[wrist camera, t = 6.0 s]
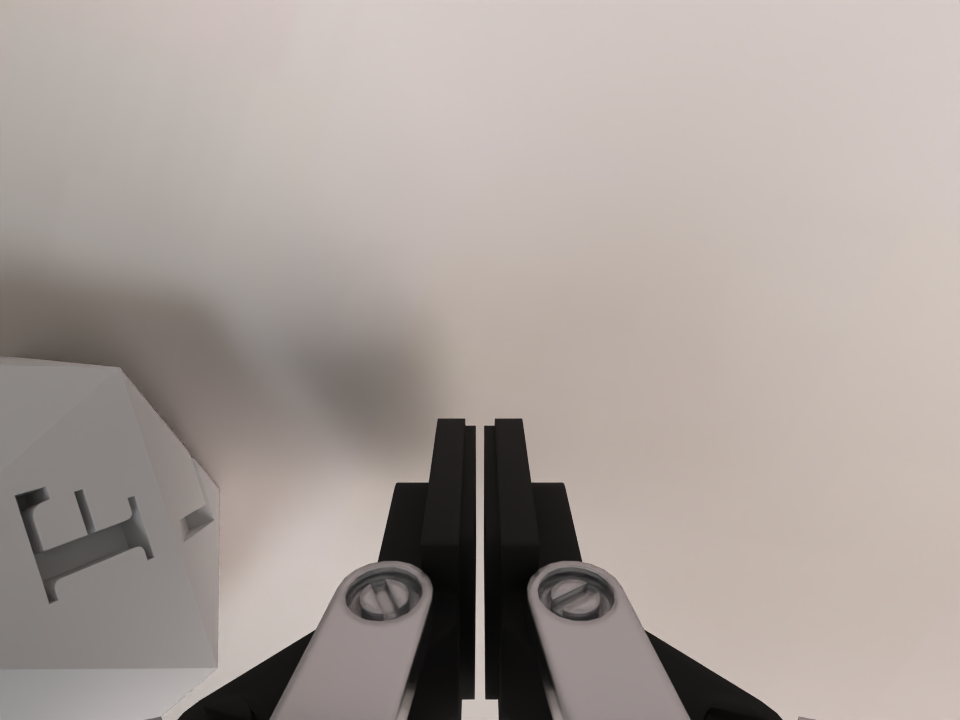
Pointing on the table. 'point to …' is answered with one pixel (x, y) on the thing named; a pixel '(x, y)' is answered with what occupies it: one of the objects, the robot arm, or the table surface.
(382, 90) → the table surface
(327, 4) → the table surface
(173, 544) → the die
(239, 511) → the table surface
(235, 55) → the table surface
